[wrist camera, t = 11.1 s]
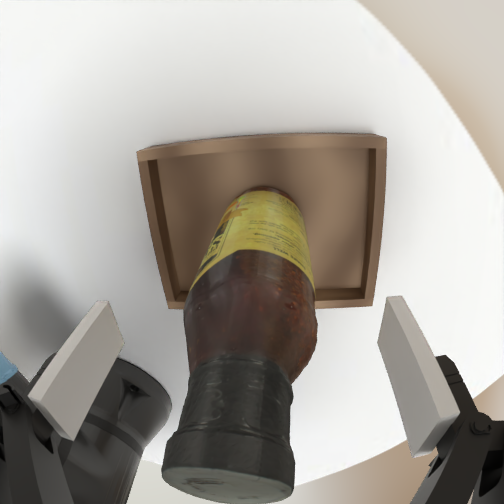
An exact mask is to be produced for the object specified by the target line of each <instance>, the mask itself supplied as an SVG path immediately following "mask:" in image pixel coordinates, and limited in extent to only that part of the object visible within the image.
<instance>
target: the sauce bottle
mask: <svg viewBox="0 0 504 504" xmlns="http://www.w3.org/2000/svg"><path fill="white" fill-rule="evenodd" d="M315 300H316V296H315V288H314V280H313V273H312V267H311V259H310V252H309V246H308V240H307V233H306V228H305V223H304V219H303V217H302V214H301V212H300V211H299V208H298V207H297V205H296V204H295V203H294V201H293V200H292V198H291V197H290V196H289V195H287V194H286V193H284V192H282V191H280V190H276V189H274V188H270V187H256V188H252V189H250V190H247V191H245V192H244V193H242V194H241V195H239V196H237V197H236V198H235V199H234V201H233V202H232V203H231V204H230V205H229V206H228V208H227V209H226V211H225V213H224V215H223V217H222V219H221V221H220V224H219V226H218V228H217V230H216V232H215V234H214V236H213V238H212V240H211V243H210V246H209V247H208V249H207V252H206V254H205V256H204V258H203V260H202V262H201V266H200V268H199V271H198V273H197V274H196V276H195V279H194V281H193V284H192V286H191V288H190V291H189V294H188V296H187V299H186V301H185V306H184V327H185V334H186V342H187V352H188V362H189V371H190V377H189V381H188V393H187V397H186V399H185V404H184V406H183V410H182V414H181V417H180V421H179V427H178V430H177V431H176V432H174V433H173V435H172V437H171V438H170V439H169V440H168V441H167V444H166V448H165V455H164V459H163V465H162V469H161V471H162V478H163V479H164V481H165V482H166V483H168V484H169V485H170V486H172V487H174V488H176V489H178V490H180V491H183V492H185V493H187V494H190V495H193V496H196V497H199V498H203V499H206V500H210V501H214V502H219V503H227V504H266V503H272V502H278V501H282V500H284V499H286V498H288V497H289V496H291V494H292V492H293V489H294V479H295V460H294V455H293V451H292V449H291V446H290V435H289V434H290V406H291V404H292V402H293V391H292V386H291V384H292V383H293V382H294V381H295V379H296V378H297V377H298V376H299V375H300V374H301V372H302V370H303V369H304V368H305V367H306V366H307V365H308V362H309V360H310V359H311V357H312V354H313V352H314V351H315V346H316V343H317V326H318V323H317V319H316V316H315Z"/></svg>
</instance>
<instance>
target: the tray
mask: <svg viewBox="0 0 504 504" xmlns="http://www.w3.org/2000/svg"><path fill="white" fill-rule="evenodd" d="M137 159H138V165H139V172H140V178H141V184H142V190H143V195H144V201H145V206H146V212H147V217H148V222H149V227H150V232H151V237H152V241H153V246H154V251H155V255H156V259H157V264H158V268H159V272H160V276H161V281H162V285H163V289H164V293H165V296H166V300H167V304H168V308H169V309H184V306H185V301H186V299H187V296H188V294H189V291H190V288H191V286H192V284H193V281H194V279H195V276H196V274H197V273H198V271H199V268H200V266H201V262H202V260H203V258H204V256H205V254H206V252H207V249H208V247H209V246H210V243H211V240H212V238H213V236H214V234H215V232H216V230H217V228H218V226H219V224H220V221H221V219H222V217H223V215H224V213H225V211H226V209H227V208H228V206H229V205H230V204H231V203H232V202H233V201H234V199H235V198H236V197H237V196H239V195H241V194H242V193H244V192H245V191H247V190H250V189H252V188H256V187H270V188H274V189H276V190H280V191H282V192H284V193H286V194H287V195H289V196H290V197H291V198H292V200H293V201H294V203H295V204H296V205H297V207H298V208H299V211H300V212H301V214H302V217H303V219H304V223H305V228H306V233H307V240H308V246H309V252H310V259H311V267H312V273H313V280H314V288H315V296H316V300H315V309H324V308H347V307H366V306H372V304H373V298H374V292H375V285H376V279H377V271H378V264H379V256H380V247H381V238H382V228H383V216H384V203H385V186H386V159H387V138H386V137H382V136H379V135H376V134H358V133H288V134H264V135H248V136H234V137H223V138H212V139H203V140H194V141H186V142H178V143H171V144H164V145H157V146H151V147H148V148H145V149H142V150H140V151H137Z"/></svg>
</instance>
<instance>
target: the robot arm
mask: <svg viewBox="0 0 504 504" xmlns="http://www.w3.org/2000/svg"><path fill="white" fill-rule="evenodd" d="M377 343H378V346H379V349H380V352H381V355H382V358H383V361H384V364H385V367H386V370H387V373H388V376H389V379H390V382H391V385H392V388H393V391H394V395H395V398H396V401H397V405H398V408H399V411H400V415H401V418H402V422H403V425H404V429H405V432H406V436H407V440H408V444H409V448H410V451H411V455H412V458H415V457H419V456H423V455H427V454H430V453H431V452H432V451H433V449H434V448H435V447H437V451H438V455H437V456H436V457H435V458H434V459H433V461H432V462H431V463H430V464H429V466H430V467H431V468H430V469H429V472H428V473H427V475H426V477H425V479H424V480H423V482H422V484H421V486H420V488H419V489H418V491H417V493H416V494H415V496H414V498H413V499H412V501H411V502H410V504H467V503H468V501H469V499H470V496H471V494H472V492H473V490H474V492H473V497H472V502H471V504H504V421H493V420H491V418H490V417H489V416H487V415H486V414H484V413H481V412H478V410H477V408H476V406H475V404H474V402H473V400H472V397H471V395H470V393H469V391H468V389H467V387H466V385H465V383H464V382H463V379H462V377H461V375H459V371H458V369H457V367H456V365H455V363H454V362H453V361H452V360H451V359H449V358H448V357H447V356H446V355H442V356H437V357H435V356H434V354H433V352H432V350H431V348H430V346H429V344H428V342H427V340H426V339H425V337H424V335H423V333H422V331H421V329H420V327H419V325H418V323H417V322H416V320H415V318H414V316H413V314H412V313H411V311H410V309H409V307H408V305H407V304H406V302H405V300H404V298H403V297H402V296H392V297H387V298H386V304H385V309H384V314H383V319H382V324H381V328H380V333H379V337H378V342H377ZM124 344H125V342H124V340H123V338H122V335H121V333H120V330H119V327H118V325H117V322H116V320H115V317H114V314H113V311H112V309H111V306H110V303H109V301H96V303H95V304H94V305H93V306H92V308H91V309H90V310H89V311H88V313H87V314H86V315H85V317H84V318H83V319H82V320H81V322H80V323H79V324H78V326H77V327H76V328H75V330H74V331H73V332H72V334H71V335H70V336H69V338H68V339H67V340H66V342H65V343H64V344H63V346H62V347H61V348H60V350H59V351H58V353H54V354H53V355H52V356H50V357H49V358H48V359H47V360H46V361H45V362H44V364H43V365H42V367H41V369H39V371H38V372H37V375H35V377H34V378H33V379H32V381H31V382H30V383H29V382H28V381H27V380H26V378H25V377H24V376H23V375H22V374H21V373H20V372H19V371H18V368H17V367H16V366H15V365H14V364H12V363H11V362H10V361H9V360H8V359H7V358H6V357H5V356H4V355H3V354H2V353H1V351H0V504H126V503H127V500H128V497H129V494H130V491H131V487H132V484H133V481H134V478H135V475H136V472H137V469H138V466H139V462H140V459H141V457H142V454H143V451H144V449H145V447H146V446H147V445H148V444H149V443H150V441H151V440H152V439H153V438H154V437H155V436H156V434H157V433H158V432H159V431H160V430H161V428H162V427H163V426H164V425H165V424H166V422H167V420H168V417H169V414H170V411H171V400H170V398H169V396H168V394H167V393H166V391H165V390H164V389H163V388H162V386H161V385H160V384H159V383H158V382H157V381H155V380H154V379H153V378H152V377H151V376H149V375H148V374H146V373H145V372H144V371H142V370H140V369H139V368H137V367H135V366H133V365H131V364H129V363H127V362H125V361H123V360H120V359H117V356H118V354H119V353H120V351H121V349H122V347H123V346H124Z"/></svg>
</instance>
